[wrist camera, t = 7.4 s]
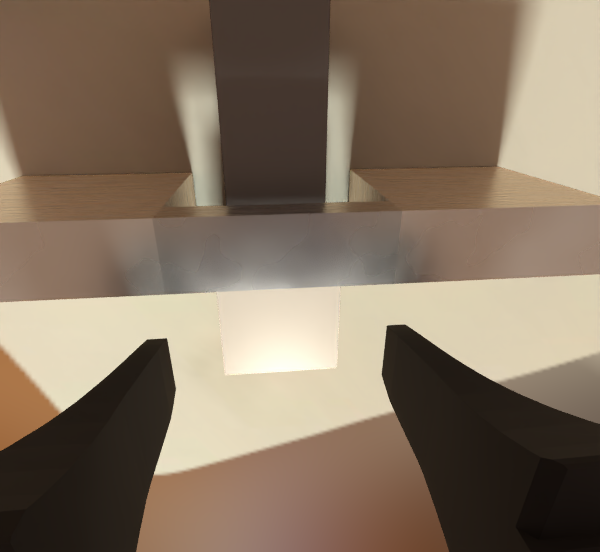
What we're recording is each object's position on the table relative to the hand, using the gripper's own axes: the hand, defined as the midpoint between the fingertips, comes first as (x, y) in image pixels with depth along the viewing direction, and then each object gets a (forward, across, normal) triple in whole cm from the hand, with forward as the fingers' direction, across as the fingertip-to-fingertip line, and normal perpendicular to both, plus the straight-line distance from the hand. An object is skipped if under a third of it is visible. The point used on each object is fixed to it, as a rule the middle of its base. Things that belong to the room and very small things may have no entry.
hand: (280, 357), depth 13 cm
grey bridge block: (+5, 0, -4) cm, 6 cm away
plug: (+5, 0, -5) cm, 7 cm away
